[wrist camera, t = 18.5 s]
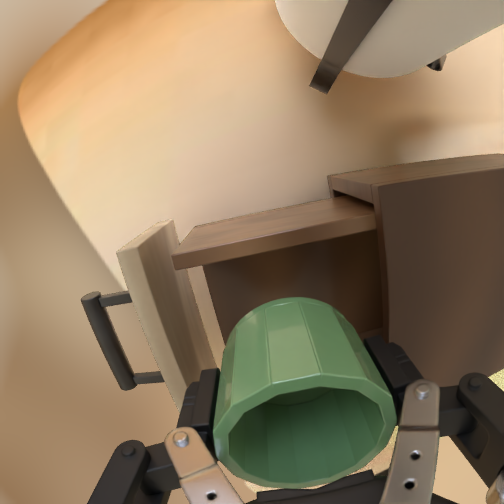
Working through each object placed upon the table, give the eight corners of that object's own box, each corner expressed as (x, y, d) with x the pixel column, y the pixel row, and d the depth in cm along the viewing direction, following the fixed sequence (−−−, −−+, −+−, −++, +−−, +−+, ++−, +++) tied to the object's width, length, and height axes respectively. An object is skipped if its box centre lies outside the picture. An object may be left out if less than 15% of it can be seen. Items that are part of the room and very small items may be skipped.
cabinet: (348, 343, 25) (385, 419, 16) (327, 175, 21) (377, 186, 12) (497, 294, 24) (556, 336, 15) (497, 153, 21) (573, 160, 12)
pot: (358, 388, 15) (390, 466, 10) (240, 411, 15) (237, 496, 10) (351, 282, 13) (403, 351, 8) (208, 311, 14) (185, 394, 8)
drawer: (150, 377, 25) (126, 438, 18) (98, 237, 22) (43, 269, 14) (389, 333, 24) (428, 386, 17) (377, 177, 20) (433, 186, 13)
